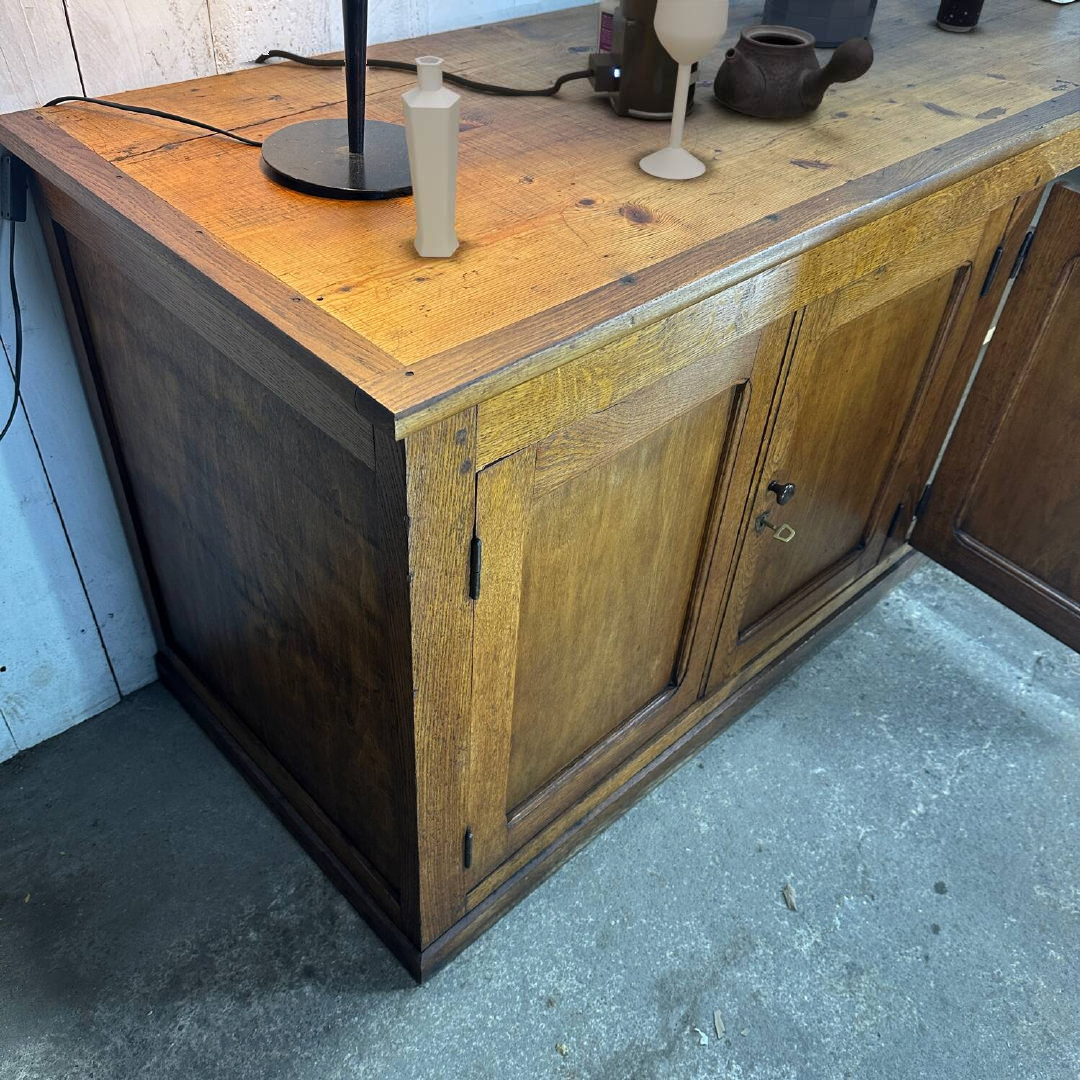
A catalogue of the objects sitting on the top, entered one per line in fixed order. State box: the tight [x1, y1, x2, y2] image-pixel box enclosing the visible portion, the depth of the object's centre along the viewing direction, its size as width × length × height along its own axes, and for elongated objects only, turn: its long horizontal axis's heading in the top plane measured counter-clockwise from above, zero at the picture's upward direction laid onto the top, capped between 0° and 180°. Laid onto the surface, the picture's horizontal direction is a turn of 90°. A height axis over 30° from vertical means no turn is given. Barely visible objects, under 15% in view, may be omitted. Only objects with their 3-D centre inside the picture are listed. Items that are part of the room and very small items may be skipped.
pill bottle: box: [595, 0, 620, 53], centre depth 119 cm, size 5×5×10 cm
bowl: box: [760, 0, 879, 48], centre depth 134 cm, size 15×15×6 cm
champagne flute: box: [638, 0, 730, 180], centre depth 91 cm, size 7×7×24 cm
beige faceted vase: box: [400, 55, 462, 258], centre depth 79 cm, size 5×4×15 cm
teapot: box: [713, 24, 875, 119], centre depth 108 cm, size 19×15×10 cm
